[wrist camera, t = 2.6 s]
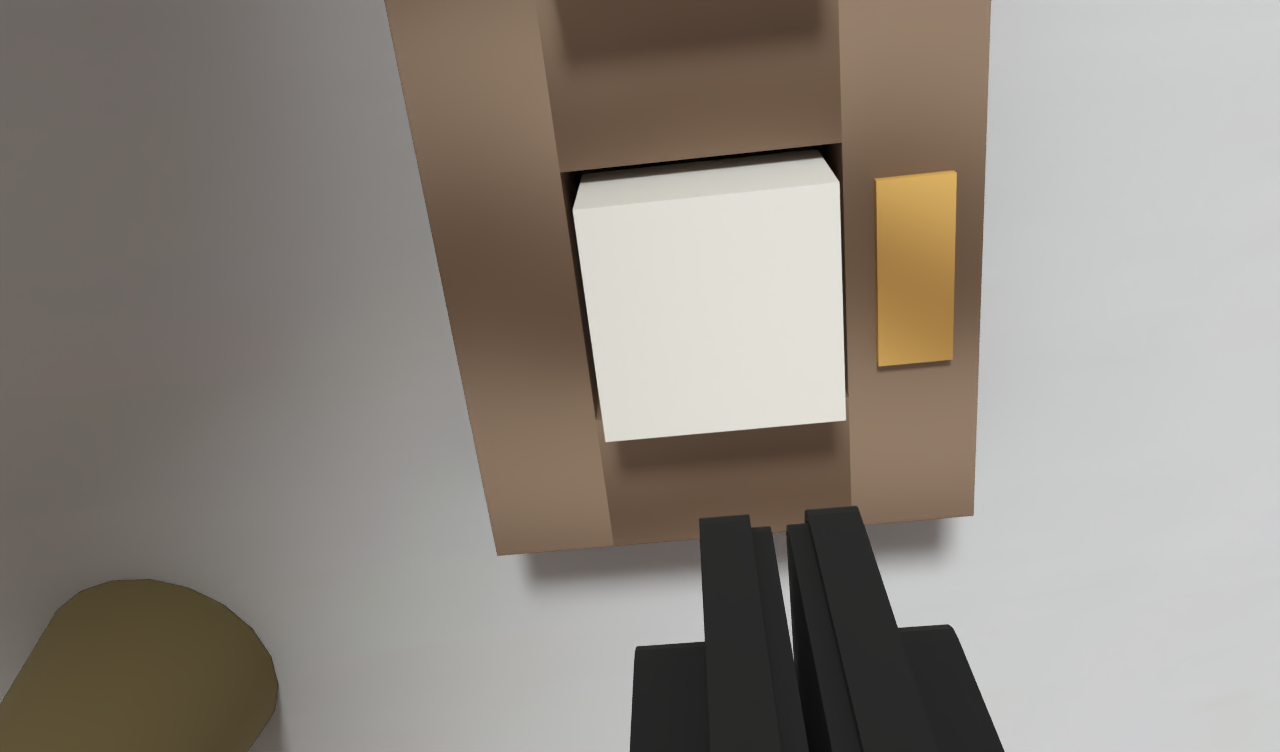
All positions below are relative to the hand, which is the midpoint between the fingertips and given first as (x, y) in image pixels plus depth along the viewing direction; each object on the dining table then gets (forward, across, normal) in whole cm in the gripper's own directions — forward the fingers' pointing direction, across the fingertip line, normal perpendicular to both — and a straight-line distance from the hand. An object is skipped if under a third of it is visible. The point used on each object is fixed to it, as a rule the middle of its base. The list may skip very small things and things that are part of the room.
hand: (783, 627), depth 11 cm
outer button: (+10, 0, -1) cm, 10 cm away
